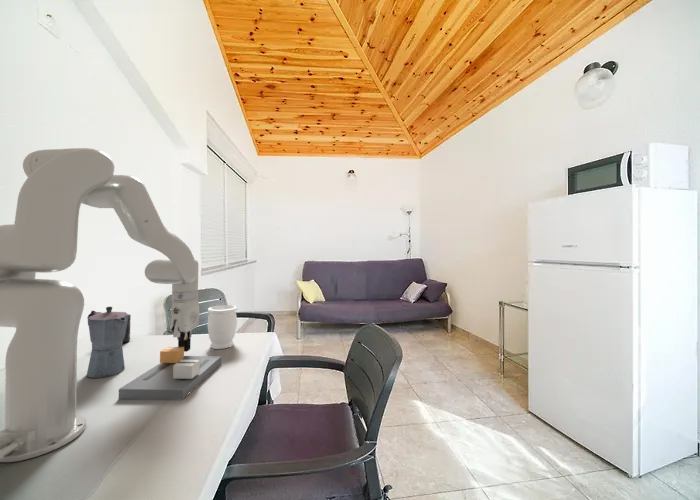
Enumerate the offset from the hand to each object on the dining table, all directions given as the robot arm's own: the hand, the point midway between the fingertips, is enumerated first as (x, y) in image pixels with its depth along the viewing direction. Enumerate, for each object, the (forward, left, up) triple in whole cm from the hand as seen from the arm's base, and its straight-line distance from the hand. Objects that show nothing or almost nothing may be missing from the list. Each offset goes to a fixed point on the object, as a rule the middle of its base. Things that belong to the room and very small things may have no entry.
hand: (184, 350), depth 94 cm
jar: (+15, -6, -4) cm, 17 cm away
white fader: (-17, -10, -1) cm, 19 cm away
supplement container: (+17, +35, -4) cm, 39 cm away
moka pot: (-9, +19, -4) cm, 21 cm away
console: (-13, -5, -4) cm, 14 cm away
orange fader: (-7, 0, -1) cm, 7 cm away
